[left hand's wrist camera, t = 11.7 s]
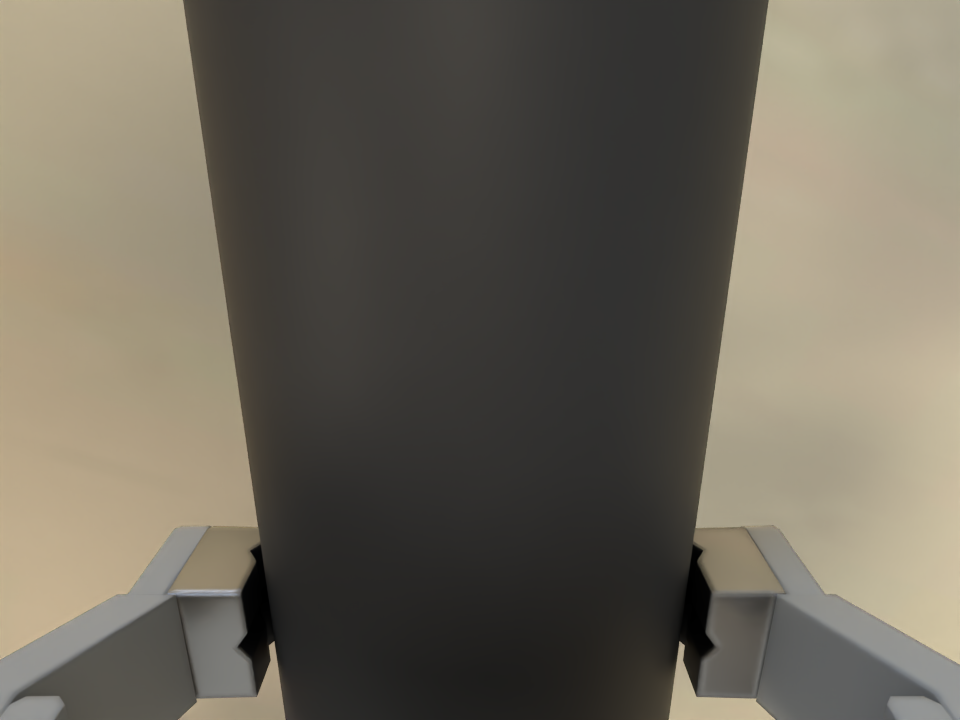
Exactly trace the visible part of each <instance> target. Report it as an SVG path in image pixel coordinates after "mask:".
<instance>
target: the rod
mask: <svg viewBox="0 0 960 720" xmlns="http://www.w3.org/2000/svg"><path fill="white" fill-rule="evenodd" d="M183 2H184V9H185V16H186V23H187V30H188V37H189V44H190V51H191V58H192V65H193V72H194V79H195V86H196V93H197V100H198V107H199V114H200V121H201V128H202V135H203V142H204V149H205V156H206V163H207V170H208V177H209V184H210V191H211V198H212V205H213V212H214V219H215V226H216V233H217V240H218V248H219V255H220V262H221V269H222V276H223V283H224V290H225V297H226V304H227V311H228V318H229V325H230V332H231V339H232V346H233V353H234V360H235V367H236V374H237V381H238V388H239V395H240V402H241V409H242V416H243V423H244V430H245V437H246V444H247V451H248V458H249V465H250V472H251V479H252V486H253V493H254V500H255V507H256V514H257V521H258V528H259V535H260V542H261V549H262V556H263V563H264V570H265V577H266V584H267V591H268V598H269V605H270V612H271V619H272V626H273V633H274V640H275V647H276V654H277V661H278V668H279V675H280V682H281V689H282V696H283V704H284V711H285V718H286V720H669V713H670V705H671V698H672V691H673V684H674V677H675V669H676V662H677V655H678V648H679V641H680V633H681V626H682V619H683V612H684V605H685V597H686V590H687V583H688V576H689V569H690V561H691V554H692V547H693V540H694V533H695V526H696V518H697V511H698V504H699V497H700V490H701V482H702V475H703V468H704V461H705V454H706V446H707V439H708V432H709V425H710V418H711V410H712V403H713V396H714V389H715V382H716V374H717V367H718V360H719V353H720V346H721V338H722V331H723V324H724V317H725V310H726V303H727V295H728V288H729V281H730V274H731V267H732V259H733V252H734V245H735V238H736V231H737V223H738V216H739V209H740V202H741V195H742V187H743V180H744V173H745V166H746V159H747V152H748V144H749V137H750V130H751V123H752V116H753V108H754V101H755V94H756V87H757V80H758V72H759V65H760V58H761V51H762V44H763V36H764V29H765V22H766V15H767V8H768V0H183Z"/></svg>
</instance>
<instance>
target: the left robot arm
mask: <svg viewBox="0 0 960 720" xmlns="http://www.w3.org/2000/svg"><path fill="white" fill-rule="evenodd" d="M274 641H275V640H274V633H273V626H272V619H271V612H270V605H269V598H268V591H267V584H266V577H265V570H264V563H263V556H262V549H261V542H260V535H259V528H258V527H235V526H213V527H211V526H180V527H178V528H175V529H174V530H173V531H172V533H171V534H170V535H169V537H168V538H167V540H166V541H165V542H164V544H163V545H162V547H161V548H160V549H159V551H158V552H157V554H156V555H155V556H154V558H153V559H152V561H151V562H150V563H149V565H148V566H147V568H146V569H145V570H144V572H143V573H142V575H141V576H140V577H139V579H138V580H137V581H136V583H135V584H134V586H133V587H132V588H131V590H130V591H129V593H128V594H125V595H115V596H114V597H112V598H110V599H108V600H106V601H105V602H103V603H101V604H99V605H97V606H96V607H94V608H92V609H90V610H89V611H87V612H85V613H83V614H81V615H80V616H78V617H76V618H74V619H72V620H71V621H69V622H67V623H65V624H64V625H62V626H60V627H58V628H56V629H55V630H53V631H51V632H49V633H47V634H46V635H44V636H42V637H40V638H39V639H37V640H35V641H33V642H31V643H30V644H28V645H26V646H24V647H22V648H21V649H19V650H17V651H15V652H13V653H12V654H10V655H8V656H6V657H5V658H3V659H1V660H0V720H178V719H179V718H180V717H181V716H182V715H183V714H184V713H185V712H186V711H187V710H189V709H190V708H191V707H192V706H193V705H194V704H195V703H196V702H197V700H196V698H230V697H257V695H258V692H259V689H260V687H261V684H262V682H263V679H264V676H265V674H266V671H267V668H268V666H269V663H270V652H269V645H270V644H271V643H272V642H274ZM680 642H682V643H683V644H684V645H685V650H684V657H683V661H684V664H685V667H686V669H687V672H688V675H689V678H690V680H691V683H692V686H693V688H694V691H695V694H696V696H697V697H722V698H757V700H756V702H758V703H759V704H760V705H761V706H762V707H763V708H764V709H765V710H766V711H767V712H768V713H769V714H770V715H771V716H772V717H773V718H775V719H776V720H960V665H959V664H957V663H956V662H954V661H952V660H950V659H949V658H947V657H945V656H943V655H941V654H940V653H938V652H936V651H934V650H933V649H931V648H929V647H927V646H926V645H924V644H922V643H920V642H919V641H917V640H915V639H913V638H911V637H910V636H908V635H906V634H904V633H903V632H901V631H899V630H897V629H896V628H894V627H892V626H890V625H889V624H887V623H885V622H883V621H881V620H880V619H878V618H876V617H874V616H873V615H871V614H869V613H867V612H866V611H864V610H862V609H860V608H859V607H857V606H855V605H853V604H851V603H850V602H848V601H846V600H844V599H843V598H841V597H839V596H837V595H827V594H825V593H824V592H823V590H822V589H821V587H820V586H819V585H818V583H817V582H816V580H815V579H814V577H813V576H812V575H811V573H810V572H809V570H808V569H807V568H806V566H805V565H804V563H803V562H802V561H801V559H800V558H799V556H798V555H797V553H796V552H795V551H794V549H793V548H792V546H791V545H790V544H789V542H788V541H787V539H786V538H785V536H784V535H783V534H782V532H781V531H780V529H778V528H777V527H775V526H773V525H772V526H742V527H724V528H695V533H694V540H693V547H692V554H691V561H690V569H689V576H688V583H687V590H686V597H685V605H684V612H683V619H682V626H681V633H680Z"/></svg>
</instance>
